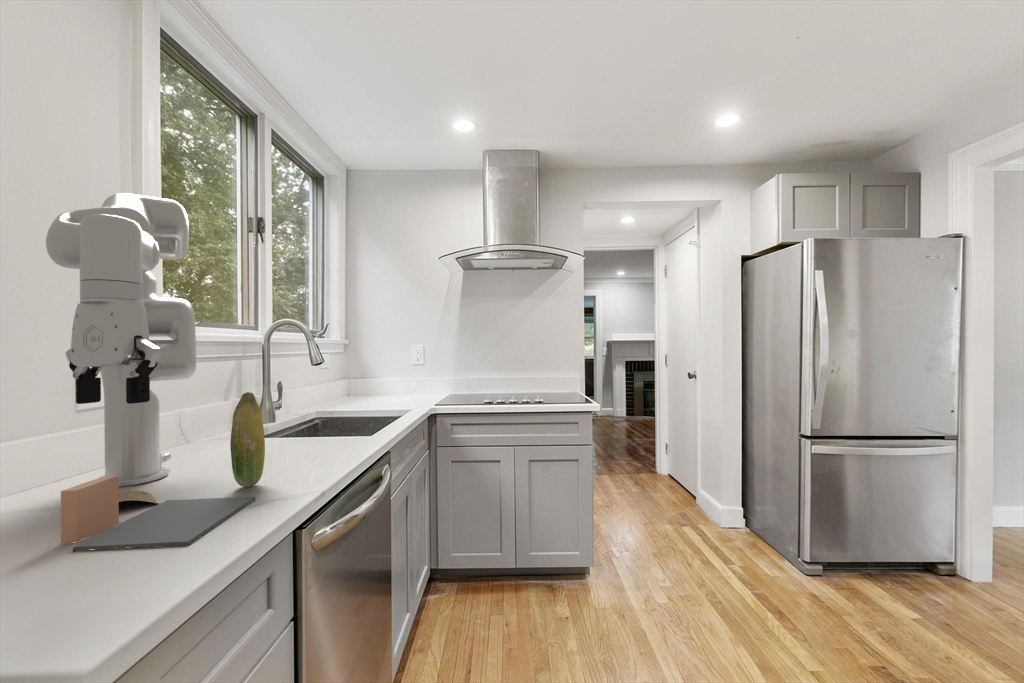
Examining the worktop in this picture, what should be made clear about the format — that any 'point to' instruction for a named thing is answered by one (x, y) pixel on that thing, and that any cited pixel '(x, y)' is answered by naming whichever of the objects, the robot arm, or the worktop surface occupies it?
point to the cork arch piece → (136, 496)
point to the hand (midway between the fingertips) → (113, 402)
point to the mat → (168, 524)
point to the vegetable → (247, 441)
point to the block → (89, 508)
